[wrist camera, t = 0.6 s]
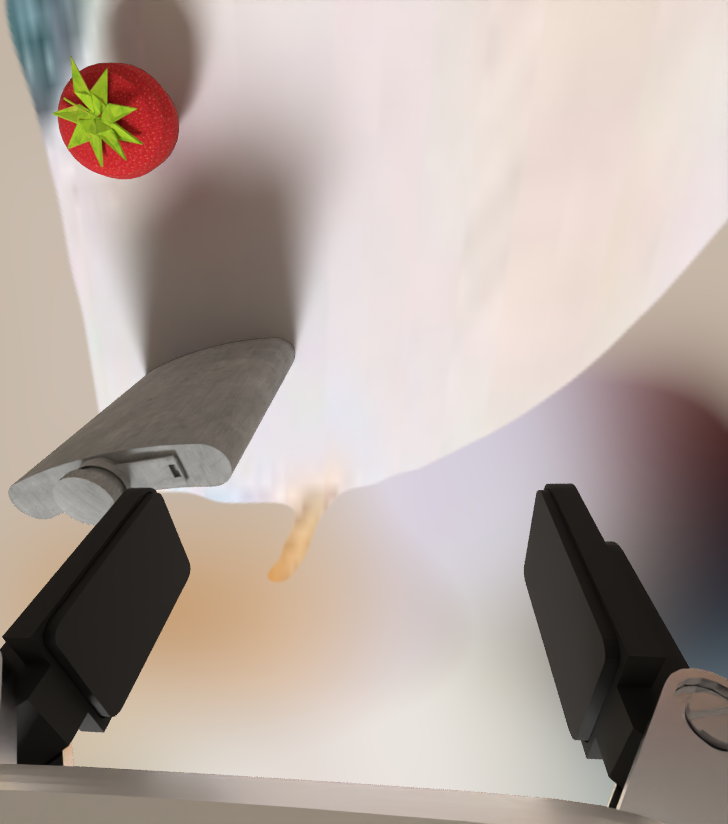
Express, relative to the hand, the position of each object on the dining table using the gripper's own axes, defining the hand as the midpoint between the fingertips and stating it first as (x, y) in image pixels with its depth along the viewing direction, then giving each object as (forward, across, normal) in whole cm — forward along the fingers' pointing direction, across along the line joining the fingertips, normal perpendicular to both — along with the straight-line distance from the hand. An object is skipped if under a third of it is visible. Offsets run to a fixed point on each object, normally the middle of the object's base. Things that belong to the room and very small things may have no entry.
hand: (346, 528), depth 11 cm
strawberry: (+30, +16, -11) cm, 36 cm away
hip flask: (+29, +17, +8) cm, 35 cm away
